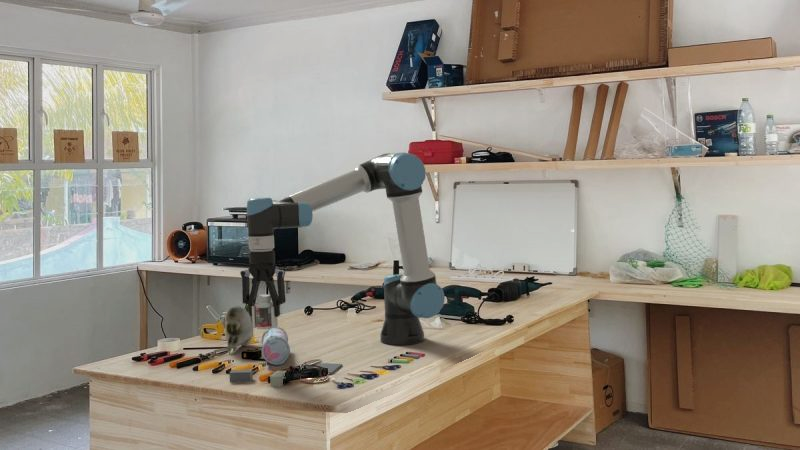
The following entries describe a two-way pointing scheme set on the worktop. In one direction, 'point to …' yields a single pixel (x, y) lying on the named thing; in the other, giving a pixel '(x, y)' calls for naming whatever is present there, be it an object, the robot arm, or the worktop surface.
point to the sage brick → (277, 378)
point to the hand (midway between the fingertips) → (265, 327)
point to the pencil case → (275, 345)
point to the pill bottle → (263, 312)
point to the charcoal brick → (241, 375)
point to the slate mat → (330, 367)
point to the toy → (238, 327)
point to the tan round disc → (312, 380)
